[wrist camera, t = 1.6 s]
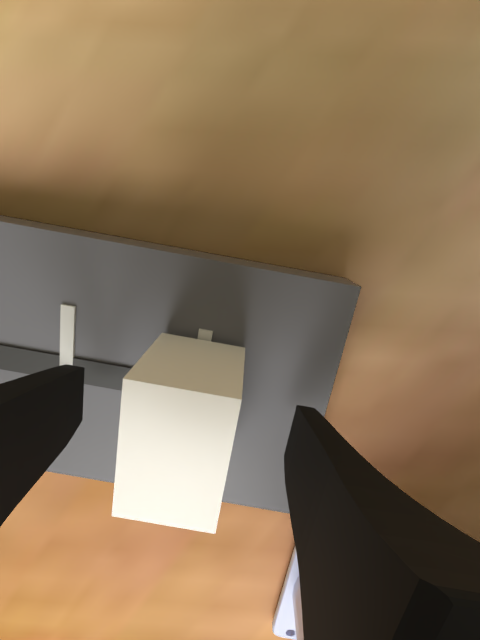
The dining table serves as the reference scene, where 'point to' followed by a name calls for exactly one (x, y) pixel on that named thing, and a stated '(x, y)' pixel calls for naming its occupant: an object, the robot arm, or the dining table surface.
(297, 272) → the slider panel
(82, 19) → the dining table surface
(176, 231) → the dining table surface
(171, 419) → the slider knob
